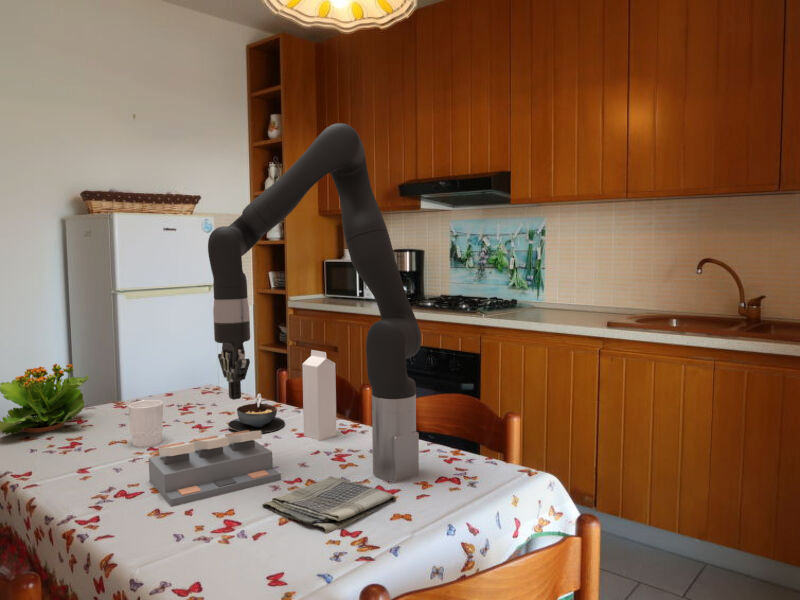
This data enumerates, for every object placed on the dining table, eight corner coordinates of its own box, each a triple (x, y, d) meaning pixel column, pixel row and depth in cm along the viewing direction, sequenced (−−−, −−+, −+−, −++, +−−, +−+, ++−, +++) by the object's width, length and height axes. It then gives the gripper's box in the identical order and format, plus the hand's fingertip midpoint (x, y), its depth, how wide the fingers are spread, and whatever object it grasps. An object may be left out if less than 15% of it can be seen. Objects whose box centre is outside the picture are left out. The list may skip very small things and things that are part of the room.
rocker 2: (229, 445, 125) (228, 435, 125) (208, 449, 122) (207, 439, 123) (213, 444, 133) (212, 435, 133) (193, 448, 130) (192, 439, 131)
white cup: (170, 438, 156) (168, 400, 155) (154, 448, 148) (153, 408, 147) (140, 438, 156) (138, 399, 156) (123, 448, 149) (121, 407, 148)
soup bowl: (217, 434, 160) (216, 406, 160) (248, 418, 175) (248, 392, 175) (268, 438, 156) (267, 410, 155) (296, 421, 171) (295, 395, 171)
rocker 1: (195, 451, 121) (193, 441, 121) (172, 456, 118) (170, 446, 119) (181, 451, 129) (180, 442, 129) (159, 455, 126) (158, 446, 127)
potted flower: (-13, 425, 169) (-17, 363, 168) (81, 410, 184) (78, 353, 183) (0, 447, 150) (-4, 376, 149) (104, 428, 165) (101, 364, 164)
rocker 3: (261, 438, 129) (260, 429, 129) (241, 442, 126) (240, 432, 127) (244, 439, 137) (243, 430, 137) (225, 443, 134) (224, 434, 135)
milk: (318, 441, 152) (316, 354, 150) (303, 436, 157) (301, 351, 155) (337, 435, 157) (335, 350, 155) (321, 431, 161) (319, 348, 159)
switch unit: (280, 480, 127) (280, 450, 126) (171, 507, 114) (169, 474, 113) (250, 459, 140) (250, 432, 139) (149, 481, 127) (148, 451, 126)
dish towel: (331, 482, 127) (331, 467, 127) (398, 504, 116) (397, 488, 115) (258, 512, 113) (258, 495, 112) (326, 541, 101) (325, 522, 101)
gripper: (260, 320, 129) (263, 401, 131) (236, 316, 140) (240, 391, 141) (225, 323, 125) (229, 407, 126) (204, 318, 136) (207, 396, 137)
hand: (235, 398), depth 134 cm, fingers closed
